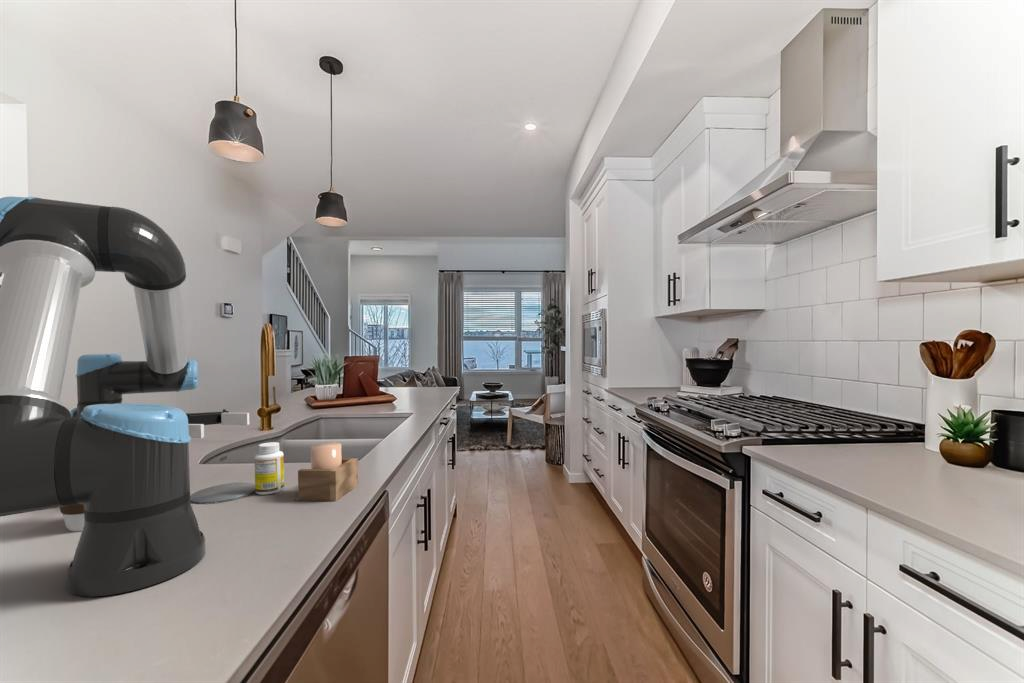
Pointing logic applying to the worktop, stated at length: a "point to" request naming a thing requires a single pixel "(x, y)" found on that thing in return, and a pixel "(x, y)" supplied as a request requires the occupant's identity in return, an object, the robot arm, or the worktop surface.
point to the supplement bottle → (269, 469)
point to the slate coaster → (222, 492)
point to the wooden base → (327, 481)
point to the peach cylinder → (326, 455)
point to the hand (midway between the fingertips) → (227, 424)
